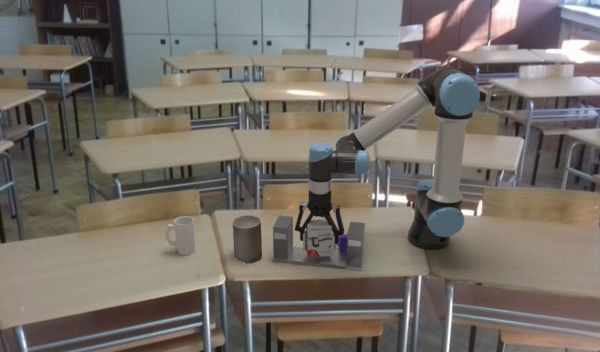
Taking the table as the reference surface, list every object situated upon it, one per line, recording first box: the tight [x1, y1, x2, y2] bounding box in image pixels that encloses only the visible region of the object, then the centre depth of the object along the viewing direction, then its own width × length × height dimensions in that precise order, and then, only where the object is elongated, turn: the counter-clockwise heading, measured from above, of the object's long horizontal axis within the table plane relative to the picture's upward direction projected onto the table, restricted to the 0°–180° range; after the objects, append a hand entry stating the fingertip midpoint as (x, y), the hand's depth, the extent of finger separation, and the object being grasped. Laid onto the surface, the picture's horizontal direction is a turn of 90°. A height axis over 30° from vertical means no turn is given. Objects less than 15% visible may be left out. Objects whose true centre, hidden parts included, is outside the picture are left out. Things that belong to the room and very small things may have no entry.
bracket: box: [337, 234, 347, 252], centre depth 206 cm, size 12×7×7 cm, turn 1°
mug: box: [165, 215, 196, 256], centre depth 201 cm, size 10×7×12 cm, turn 101°
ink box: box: [305, 218, 333, 257], centre depth 195 cm, size 9×5×12 cm, turn 95°
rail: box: [271, 215, 366, 272], centre depth 196 cm, size 31×10×13 cm, turn 79°
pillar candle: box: [231, 215, 263, 264], centre depth 197 cm, size 10×10×15 cm
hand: (319, 250), depth 197 cm, fingers closed on ink box, 9 cm apart
